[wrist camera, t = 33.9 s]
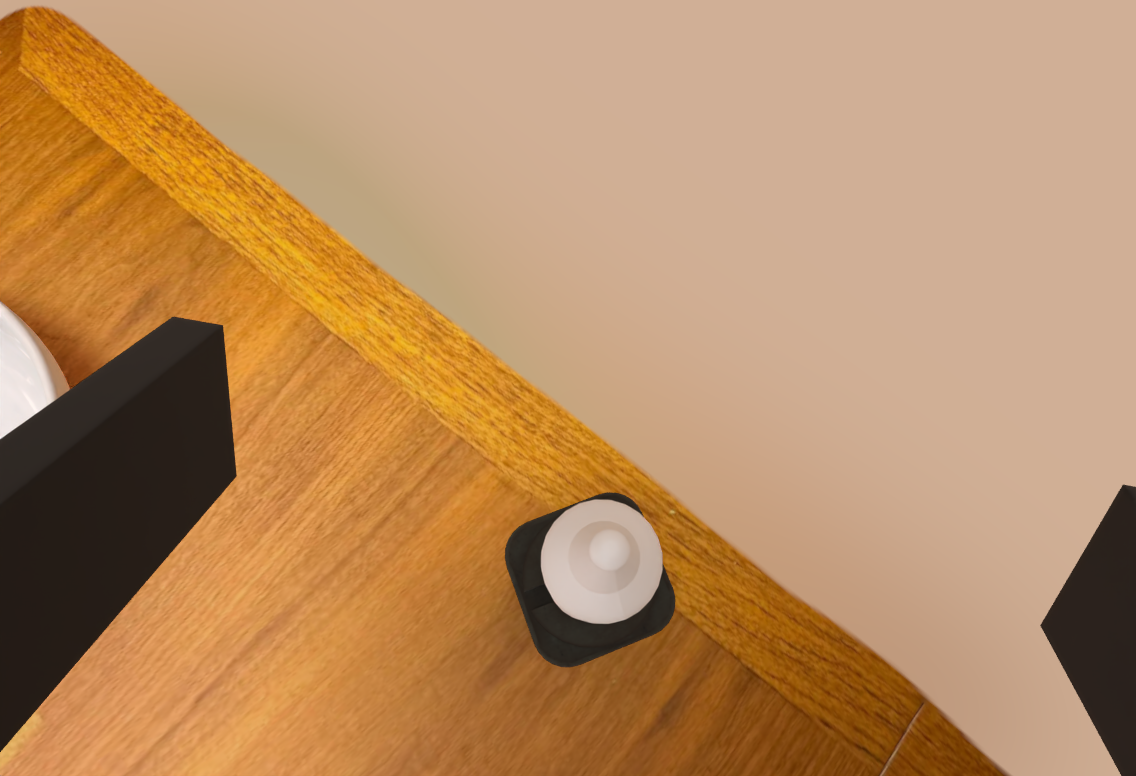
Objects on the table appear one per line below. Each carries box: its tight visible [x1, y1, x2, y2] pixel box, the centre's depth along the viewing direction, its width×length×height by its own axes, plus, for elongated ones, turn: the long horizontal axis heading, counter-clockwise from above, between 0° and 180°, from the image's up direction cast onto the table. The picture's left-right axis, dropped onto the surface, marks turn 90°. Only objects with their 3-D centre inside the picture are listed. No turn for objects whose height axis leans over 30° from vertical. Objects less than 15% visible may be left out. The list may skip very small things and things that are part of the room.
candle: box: [505, 493, 675, 667], centre depth 28 cm, size 5×5×25 cm
